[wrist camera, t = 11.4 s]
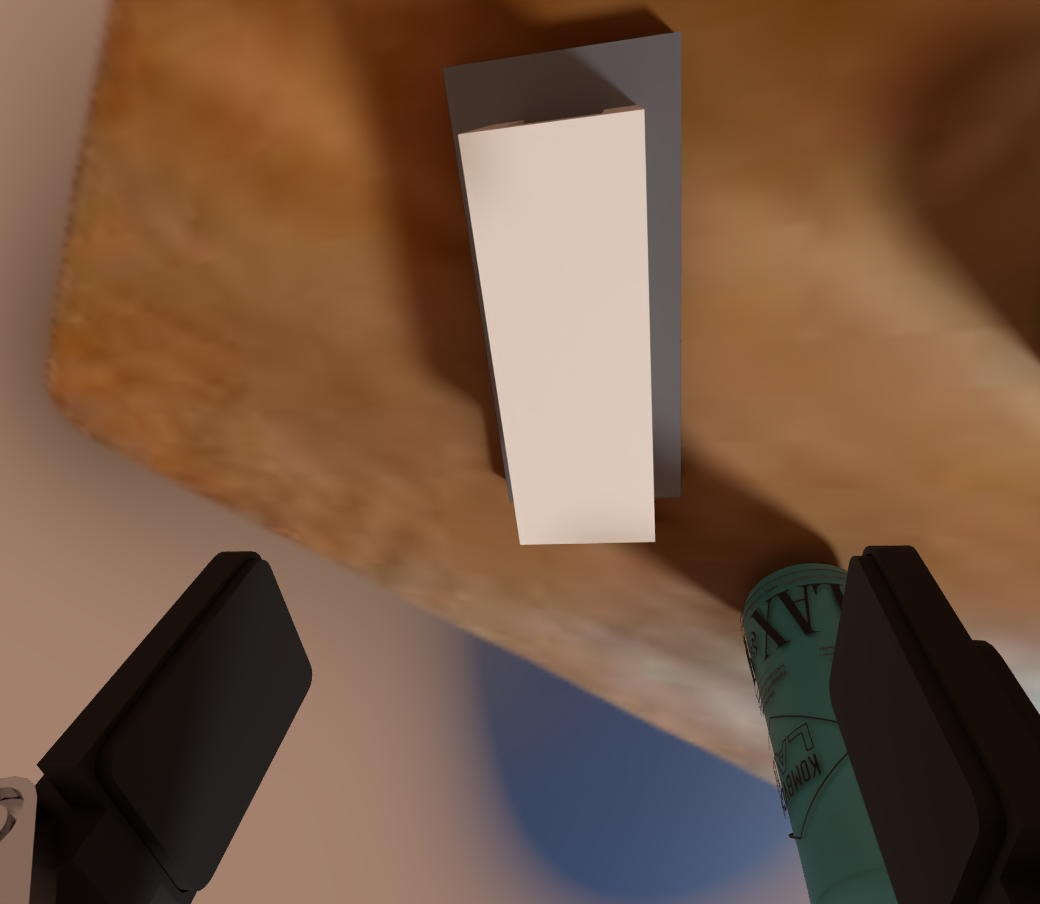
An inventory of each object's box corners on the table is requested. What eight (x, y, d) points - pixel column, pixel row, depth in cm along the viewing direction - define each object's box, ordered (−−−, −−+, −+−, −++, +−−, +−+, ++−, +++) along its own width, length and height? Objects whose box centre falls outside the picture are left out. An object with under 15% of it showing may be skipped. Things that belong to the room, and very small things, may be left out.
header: (451, 68, 23) (410, 62, 18) (677, 35, 22) (695, 19, 17) (514, 485, 32) (496, 555, 27) (677, 480, 30) (689, 552, 26)
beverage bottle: (872, 536, 30) (1211, 1114, 13) (859, 636, 34) (1117, 1209, 16) (731, 542, 32) (873, 1079, 14) (731, 638, 35) (847, 1175, 18)
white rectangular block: (493, 124, 22) (458, 134, 17) (636, 105, 22) (644, 108, 16) (536, 464, 29) (520, 544, 24) (647, 459, 28) (655, 541, 23)
